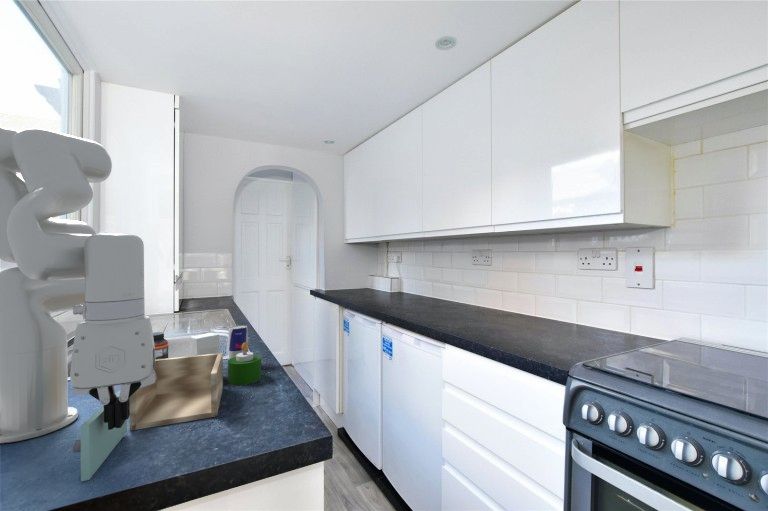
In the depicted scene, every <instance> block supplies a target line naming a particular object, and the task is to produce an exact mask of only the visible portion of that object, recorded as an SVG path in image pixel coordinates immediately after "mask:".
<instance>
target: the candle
mask: <svg viewBox="0 0 768 511" xmlns="http://www.w3.org/2000/svg"><path fill="white" fill-rule="evenodd" d="M247 348H248V349H249V345H248V346H247V344H246V343H243V344H242V351H243V353H239V354H237V355H236V357H233V358H231V359H229V358H228V360H227V383H228V384H229V385H232V386H244V385H250V384H254V383H256V382H259V381H260V380H261V379H262V357H261V355H258V354H254V352H251V351H250V352H249V351H248V352H247Z"/></svg>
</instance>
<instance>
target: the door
mask: <svg viewBox="0 0 768 511" xmlns="http://www.w3.org/2000/svg"><path fill="white" fill-rule="evenodd" d="M115 395H116V397H119V395H120V389H119V390H118V391H117V392H116V393H115ZM127 420H128V419H126V420H125V422H124V424H123V425H122V427H121V428H113V429H111V430H108V423H104V405H102V406H101V407H99V409H97V410H96V411H95V412H94V413H93V414H92V415H91V416H90V417H89V418H87V420H86V421H85V422H84V423H83V424H81V426H80V439H79V440H76V441H75V442H74V443H73V446H72V451H73V453H80V482H84V481H88V480H89V481H90V480H91V478H92V477H93V476H94V475H95V473H96V472H97V471H98V470H99V468H100V467H101V465H102V464H103V463H104V462H105V461H106V460H107V458H108V457H109V455H110V454H111V453H112V452H113V450H114V449H115V448H116V446H117V445H118V444H119V443H120V441H121V440H122V439H123V437H124V436H125V435H126V434H127V432H128V423H127V422H128V421H127Z"/></svg>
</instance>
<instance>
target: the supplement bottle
mask: <svg viewBox="0 0 768 511" xmlns="http://www.w3.org/2000/svg"><path fill="white" fill-rule="evenodd" d="M153 338H154V346H155V360H157V359H167V358H169V341H168V340H167V339H166V338H165V332H163V331H157V332H153Z"/></svg>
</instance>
